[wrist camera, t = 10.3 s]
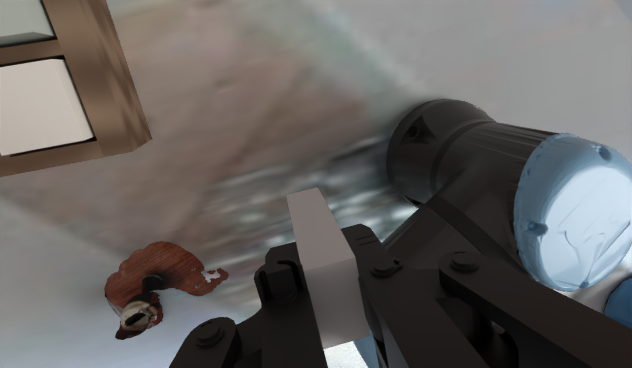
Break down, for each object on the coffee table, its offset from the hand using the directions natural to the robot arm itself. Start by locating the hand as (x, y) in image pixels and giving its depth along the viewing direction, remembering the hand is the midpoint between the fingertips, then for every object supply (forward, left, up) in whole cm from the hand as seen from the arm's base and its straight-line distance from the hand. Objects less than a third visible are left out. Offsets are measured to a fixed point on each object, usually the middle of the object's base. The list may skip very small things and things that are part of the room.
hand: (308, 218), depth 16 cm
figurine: (-18, +18, -28) cm, 38 cm away
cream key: (+7, +21, -24) cm, 33 cm away
